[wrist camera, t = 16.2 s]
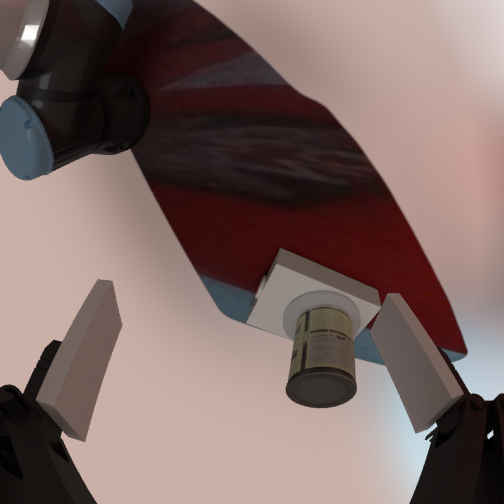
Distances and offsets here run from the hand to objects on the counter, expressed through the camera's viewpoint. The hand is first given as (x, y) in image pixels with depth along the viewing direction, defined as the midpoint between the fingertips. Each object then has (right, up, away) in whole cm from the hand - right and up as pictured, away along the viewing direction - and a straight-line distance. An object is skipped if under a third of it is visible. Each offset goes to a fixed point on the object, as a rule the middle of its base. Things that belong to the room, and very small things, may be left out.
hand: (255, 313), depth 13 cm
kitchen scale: (+12, -6, +40) cm, 42 cm away
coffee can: (+13, -10, +35) cm, 39 cm away
